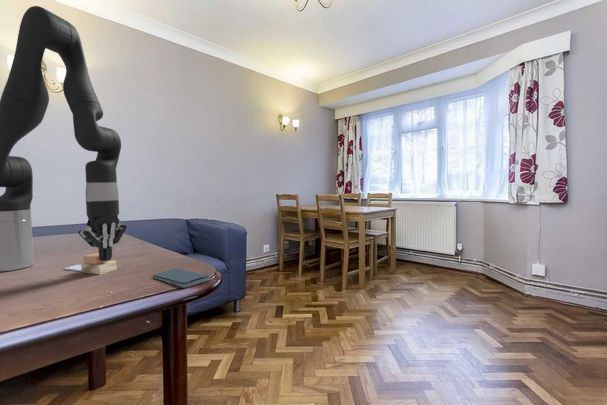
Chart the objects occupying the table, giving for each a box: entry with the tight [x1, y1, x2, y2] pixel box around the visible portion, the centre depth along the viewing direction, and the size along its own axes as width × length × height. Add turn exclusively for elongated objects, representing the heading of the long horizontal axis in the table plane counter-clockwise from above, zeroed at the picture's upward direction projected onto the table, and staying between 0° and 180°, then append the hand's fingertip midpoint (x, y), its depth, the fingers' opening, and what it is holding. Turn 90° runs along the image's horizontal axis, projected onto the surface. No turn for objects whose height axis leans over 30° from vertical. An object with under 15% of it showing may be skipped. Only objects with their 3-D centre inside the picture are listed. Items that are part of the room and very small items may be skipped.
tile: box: [82, 252, 110, 264], centre depth 84 cm, size 5×4×2 cm
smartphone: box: [152, 268, 210, 289], centre depth 76 cm, size 8×2×15 cm
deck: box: [80, 259, 118, 275], centre depth 84 cm, size 7×5×2 cm
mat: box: [63, 264, 83, 273], centre depth 86 cm, size 8×4×1 cm, turn 72°
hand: (105, 260), depth 83 cm, fingers closed
